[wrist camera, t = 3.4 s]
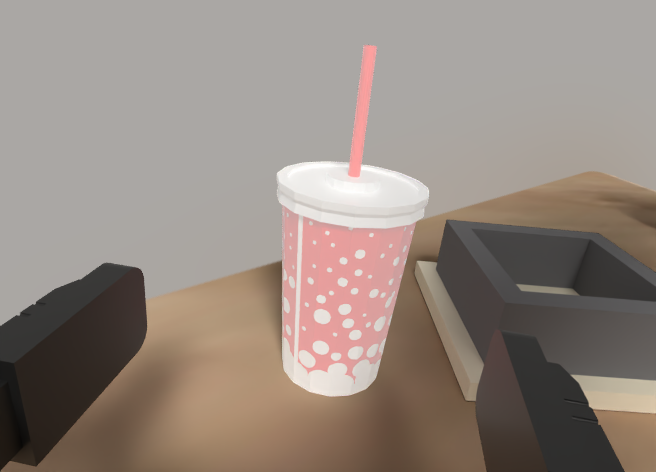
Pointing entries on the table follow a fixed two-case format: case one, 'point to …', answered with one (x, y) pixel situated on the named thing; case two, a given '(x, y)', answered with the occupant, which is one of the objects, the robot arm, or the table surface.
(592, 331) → the grey tray on board
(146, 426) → the table surface
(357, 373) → the beverage cup
